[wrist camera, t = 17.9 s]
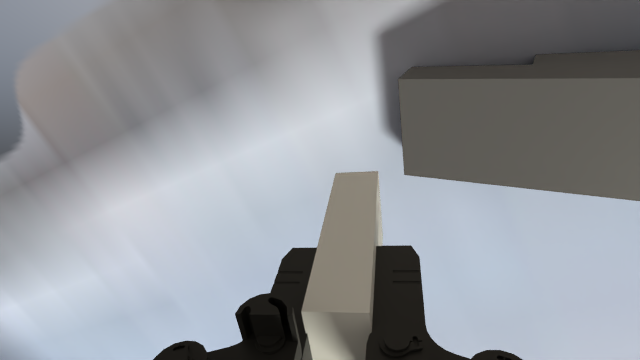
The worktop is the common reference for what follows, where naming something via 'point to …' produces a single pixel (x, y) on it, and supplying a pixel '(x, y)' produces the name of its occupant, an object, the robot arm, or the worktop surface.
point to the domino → (525, 126)
